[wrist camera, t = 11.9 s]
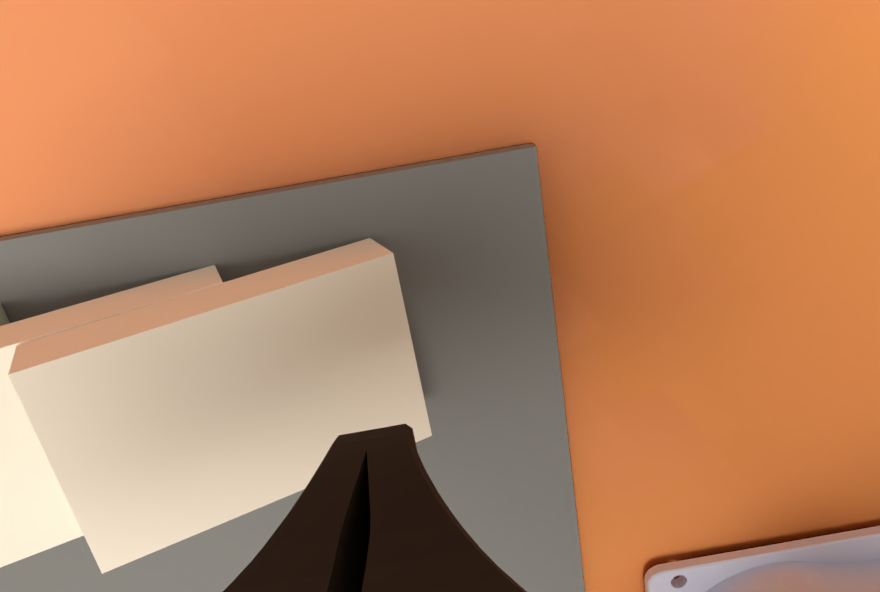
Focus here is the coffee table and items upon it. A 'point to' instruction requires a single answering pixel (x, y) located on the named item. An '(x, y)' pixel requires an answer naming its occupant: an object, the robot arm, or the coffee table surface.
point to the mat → (432, 332)
